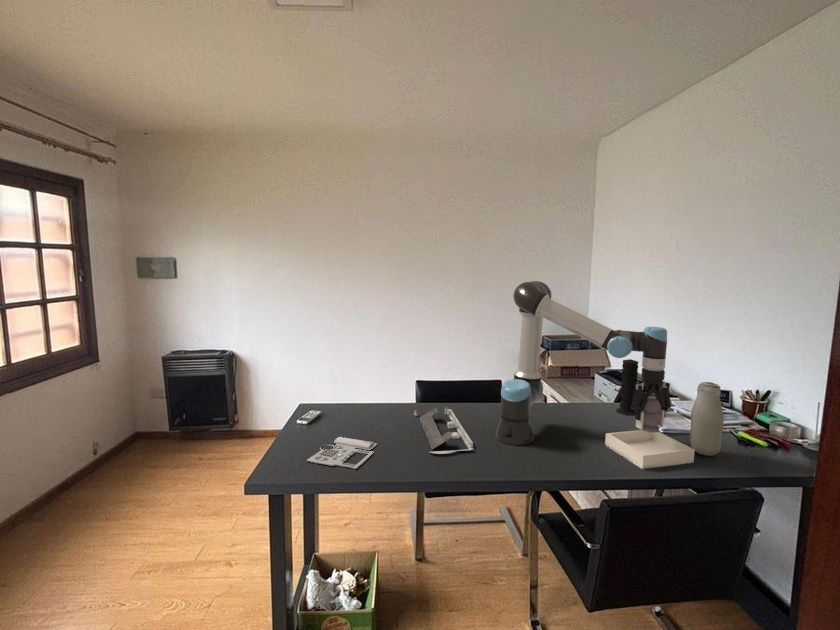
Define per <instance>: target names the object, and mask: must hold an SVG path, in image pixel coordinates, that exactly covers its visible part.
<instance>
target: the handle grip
mask: <svg viewBox="0 0 840 630" xmlns="http://www.w3.org/2000/svg"><path fill="white" fill-rule="evenodd" d="M621 365H622V366H621V367H622V370H621V383H620V387H621V388H620V398H619V399H620V400H619V401H620V403H619V407H618V408H616V410H615V412H617V413H618V414H620V415H622V416H630V417H631V416H634V417H635V410H633V409H631V404H632V400H633V395H634V391H635V384H638V375H639V372H638V371H639V361H638V360H635V359H630V358H629V359H623V360H622V364H621Z"/></svg>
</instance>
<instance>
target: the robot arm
mask: <svg viewBox="0 0 840 630" xmlns="http://www.w3.org/2000/svg"><path fill="white" fill-rule="evenodd" d="M552 295H553V294H552V290H551V289H550V287H549V286H548V285H547V284H546V283H544V282H542V281H540V280H539V281H538V280H532V281H524V282H522V283H520V284H519V285H518V286H516V288H515V289H514V291H513V296H512V297H513V301H514V304H515V305H516V306H517V308H518V313H520V315H521V316H522V318H521V329H520V331H521V332H520V342H519V354H518V366H517V369H516V371H514V373H513V378H512V379H511V380H510V379H509V380H506V381H504V382H503V383H502V386H501V389H500V420H499V423H498V425H497V427H496V432H495V438H496V439H497V440H498V441H499V442H501V443H504V444H508V445H513V446H524V445H529V444H531V443H532V442H533V441H534V432H533V428H532V425H531V422H530V414H531V413H530V412H531V408H530V407H531V406H532V405H534V404H535V403H536V402H538V401H539V400H540V398H541V397H542V395H543V392H544V386H543V382H542V375H541V373H540V372H539V367H540V357H541V347H542V346H541V345H542V334H543V333H542V332H543V322H544V319H545V320H547V321H550V322H552V323H553V324H556V325H557V326H559V327H561V328H563V329H565V330H567V331H569V332H571V333H572V334H575V335H577V336H579V337H581V338H583V339H584V340H586V341H588V342H590V343H592V344H595V345H596V346H597V347H600V348H602V349H603V350H605V351H608V353H609V354H610V356H612V357H613V358H617V359H623V358H625V357H627V356H629V355H630V354H631V353H632V352H638V353H640V352H642V360H641V361H642V363H641V367H642V368H641V378H642V381H641V383H639V384H638V383H637V384H635V391H634V395H633V400H632V404H631V409H633V410H635V416H634V418H635V428H638V430H642V429H643V418H644V412H642V410H643V408H644V406H645V404H646V401H647V399H648V398H650V396H651V395H652V394H654V396H655V399H659V403H660V405H661V409H660V411H659V413H660V414H661V415H662V422H661V423H660V424H659V425H657V426H659V428H664V423H665V422H664V421H665V418H666V413H667V411H669V409H670V408H671V407H672V404H671V394H670V386H671V383H670V382H667V381H664V380H665V374H666V373H665V372H666V370H665V369H666V358H667V347H668V331H667V329H666V328H665V327H660V326H659V327H658V326H646V327H644V330H643V331H632V330H621V329H612V328H610V327H608V326H606V325H604V324H602V323H600V322H598V321H595V320H594V319H592V318H590V317H587V316H586V315H583V314H581V313H580V312H577V311H576V310H574V309H571V308H569V307H568V306H565V305H564V304H561V303H559V302H557V301H556V300H553V299H552Z"/></svg>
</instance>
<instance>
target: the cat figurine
mask: <svg viewBox="0 0 840 630" xmlns="http://www.w3.org/2000/svg"><path fill="white" fill-rule="evenodd" d="M660 409H661V405H660V403H659V399H656V398H653V397H652V398H651V397H648V399H647V401H646V404H645V406H644V408H643V410H642V412H644V418H643V429H641V430H644V431H647V432H653V433H655V432H660V426H658V425H659V424H660V423H661V422H662V415H661V414H660V413H659V411H660Z"/></svg>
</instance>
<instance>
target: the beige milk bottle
mask: <svg viewBox="0 0 840 630" xmlns="http://www.w3.org/2000/svg"><path fill="white" fill-rule="evenodd" d="M721 392H722V391H721V386H720V385H719V384H718V383H714V382H713V381H712V382H709V381H703V382H700V383H699V384H698V385H697V389H696V398H695V400H694V403H693V406H692V408H691V412H690V432H689V443H690V447H691V448H693V449H695V452H694V453H697V454H699V455H702V456H705V457H707V456H709V457H711V456H716V455H717V454H718V453H719V452H720V451H721V447H722V441H723V440H722V439H723V430H724V429H723V428H724V421H725V420H724V419H725V416H724V411H723V408H722V404H721V403H722V400H721V394H722V393H721Z"/></svg>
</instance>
